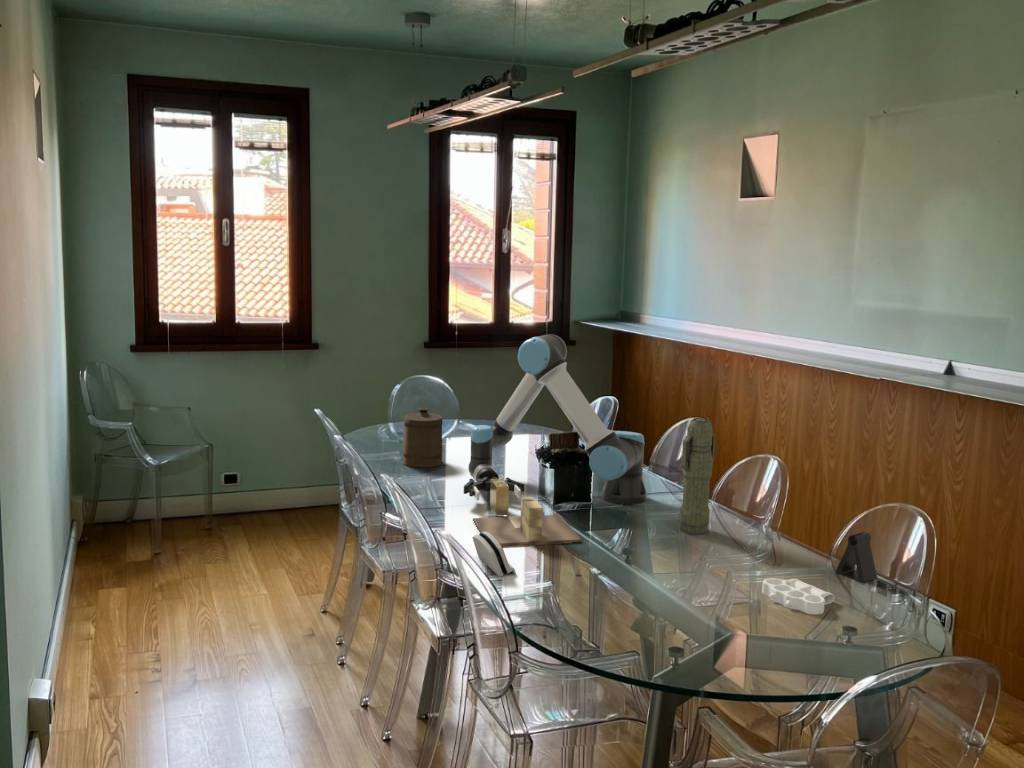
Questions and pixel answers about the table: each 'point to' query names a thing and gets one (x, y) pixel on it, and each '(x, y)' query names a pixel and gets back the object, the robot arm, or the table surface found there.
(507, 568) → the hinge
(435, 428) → the wooden container
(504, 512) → the tan wooden brick
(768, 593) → the white egg tray
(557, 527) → the mounting board
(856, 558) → the phone stand
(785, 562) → the table surface
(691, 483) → the stone statue
